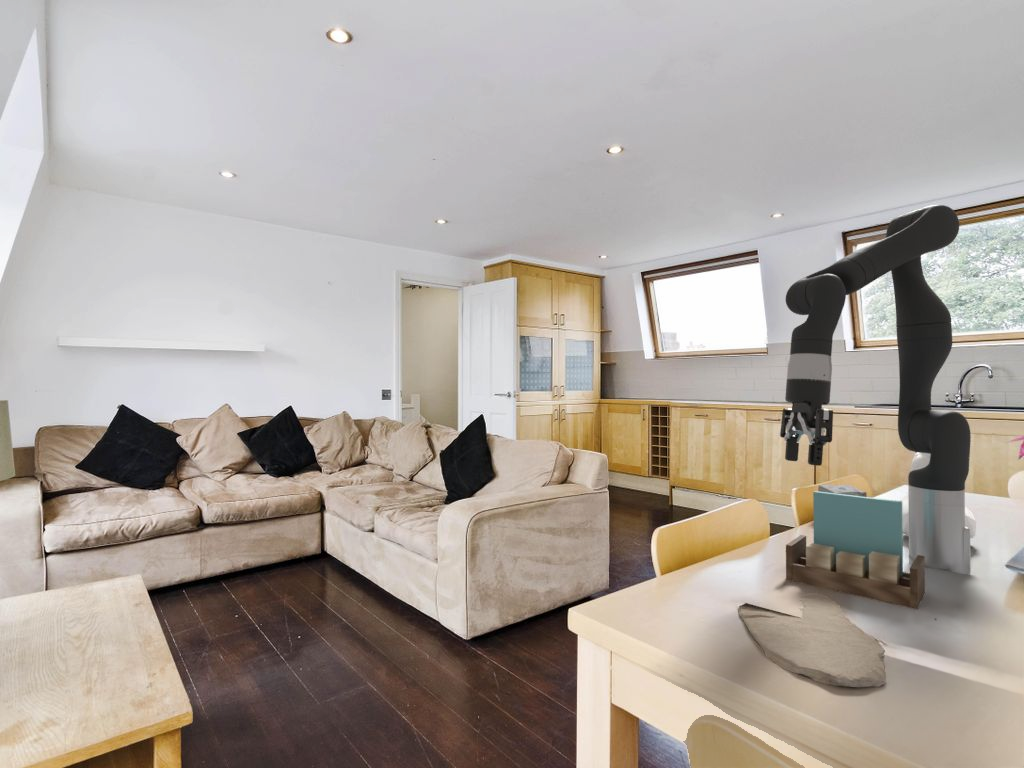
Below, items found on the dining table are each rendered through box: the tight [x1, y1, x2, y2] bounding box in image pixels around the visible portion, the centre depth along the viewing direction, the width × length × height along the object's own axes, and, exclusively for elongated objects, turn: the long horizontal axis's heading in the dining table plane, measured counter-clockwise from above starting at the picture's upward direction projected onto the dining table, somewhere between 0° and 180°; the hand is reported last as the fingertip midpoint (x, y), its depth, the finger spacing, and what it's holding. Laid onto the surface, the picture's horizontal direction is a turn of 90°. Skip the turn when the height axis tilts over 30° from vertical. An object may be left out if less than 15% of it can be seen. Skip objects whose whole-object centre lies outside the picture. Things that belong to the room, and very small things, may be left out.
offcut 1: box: [806, 542, 834, 572], centre depth 100 cm, size 4×3×6 cm
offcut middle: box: [836, 551, 866, 578], centre depth 96 cm, size 4×3×6 cm
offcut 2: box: [869, 551, 900, 585], centre depth 93 cm, size 4×3×7 cm
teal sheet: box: [812, 490, 904, 577], centre depth 100 cm, size 14×1×16 cm, turn 46°
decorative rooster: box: [899, 452, 977, 539], centre depth 135 cm, size 25×16×25 cm, turn 138°
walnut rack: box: [785, 534, 926, 610], centre depth 98 cm, size 20×10×8 cm, turn 46°
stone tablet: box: [737, 592, 887, 688], centre depth 81 cm, size 16×30×2 cm, turn 168°
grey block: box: [817, 484, 868, 497], centre depth 150 cm, size 10×8×10 cm
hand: (802, 462), depth 102 cm, fingers open, 8 cm apart
